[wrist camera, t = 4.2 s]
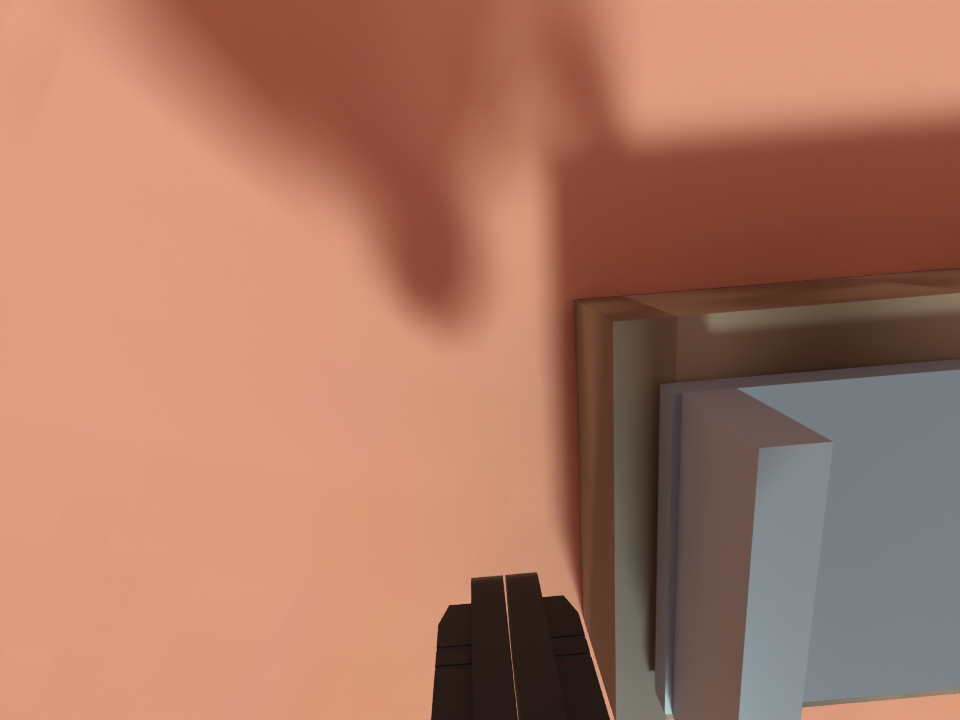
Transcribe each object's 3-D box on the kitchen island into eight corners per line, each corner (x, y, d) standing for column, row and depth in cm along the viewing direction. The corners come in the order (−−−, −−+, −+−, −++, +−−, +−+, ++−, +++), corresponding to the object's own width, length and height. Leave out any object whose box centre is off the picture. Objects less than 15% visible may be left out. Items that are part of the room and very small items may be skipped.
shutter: (1000, 355, 11) (1238, 407, 8) (937, 665, 13) (1098, 810, 10) (660, 383, 11) (747, 449, 8) (654, 690, 13) (719, 845, 10)
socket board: (1142, 253, 15) (1380, 257, 11) (1056, 576, 18) (1218, 669, 14) (574, 300, 15) (612, 321, 11) (583, 618, 18) (616, 723, 14)
